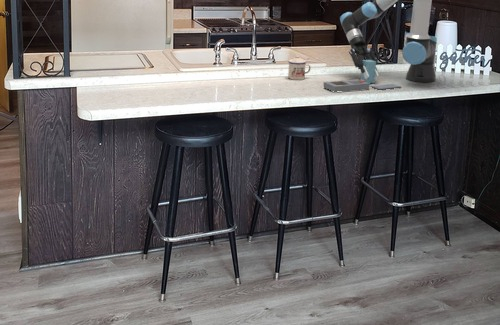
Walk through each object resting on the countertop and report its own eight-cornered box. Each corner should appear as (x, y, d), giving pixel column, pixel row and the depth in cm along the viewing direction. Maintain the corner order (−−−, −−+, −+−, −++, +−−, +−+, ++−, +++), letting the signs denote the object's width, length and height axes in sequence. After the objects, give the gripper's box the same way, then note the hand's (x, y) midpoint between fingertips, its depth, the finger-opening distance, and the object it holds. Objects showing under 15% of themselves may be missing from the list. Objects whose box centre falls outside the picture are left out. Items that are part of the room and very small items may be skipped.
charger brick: (368, 80, 334) (370, 59, 331) (374, 82, 330) (376, 61, 326) (360, 81, 332) (362, 60, 328) (365, 83, 328) (367, 62, 324)
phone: (391, 86, 327) (392, 83, 327) (401, 89, 322) (401, 86, 321) (369, 88, 321) (370, 86, 320) (379, 91, 315) (379, 89, 315)
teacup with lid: (290, 80, 332) (291, 57, 328) (285, 76, 340) (286, 54, 336) (312, 79, 335) (314, 57, 331) (307, 76, 343) (308, 54, 339)
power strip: (357, 85, 325) (357, 78, 324) (369, 89, 317) (369, 82, 316) (323, 88, 317) (323, 81, 316) (334, 92, 309) (334, 85, 307)
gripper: (367, 43, 342) (383, 80, 334) (338, 44, 335) (353, 82, 326) (373, 34, 336) (390, 71, 327) (344, 36, 328) (360, 74, 320)
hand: (372, 77), depth 327 cm, fingers closed on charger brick, 5 cm apart
